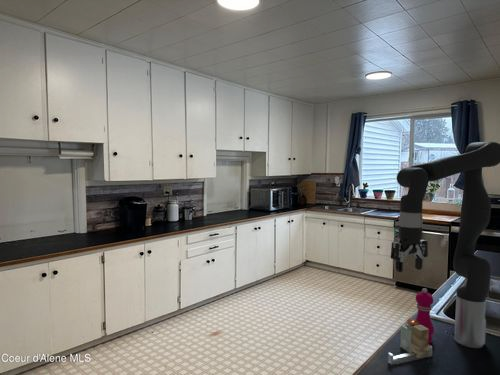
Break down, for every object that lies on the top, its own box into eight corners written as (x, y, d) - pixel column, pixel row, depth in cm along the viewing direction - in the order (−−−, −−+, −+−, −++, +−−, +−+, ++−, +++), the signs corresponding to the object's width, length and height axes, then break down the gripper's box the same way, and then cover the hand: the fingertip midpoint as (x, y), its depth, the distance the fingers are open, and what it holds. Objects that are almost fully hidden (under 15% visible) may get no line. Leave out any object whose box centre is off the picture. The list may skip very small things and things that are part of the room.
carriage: (421, 350, 121) (422, 324, 120) (429, 355, 117) (430, 328, 117) (409, 352, 119) (410, 326, 118) (418, 358, 116) (419, 331, 115)
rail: (428, 353, 120) (428, 344, 120) (431, 356, 119) (432, 346, 119) (387, 363, 115) (388, 353, 114) (391, 365, 113) (391, 355, 113)
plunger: (412, 333, 126) (413, 318, 126) (420, 338, 122) (421, 322, 122) (404, 335, 125) (404, 319, 124) (412, 340, 121) (413, 324, 121)
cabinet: (413, 343, 127) (413, 323, 127) (423, 350, 122) (424, 329, 122) (399, 346, 125) (400, 325, 125) (410, 353, 120) (411, 331, 120)
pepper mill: (409, 339, 130) (411, 288, 129) (416, 332, 136) (418, 283, 134) (429, 346, 125) (431, 293, 124) (436, 339, 130) (438, 288, 129)
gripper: (417, 222, 125) (416, 265, 126) (386, 224, 120) (385, 269, 121) (435, 225, 118) (433, 271, 119) (402, 227, 113) (400, 275, 114)
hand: (408, 270), depth 120 cm, fingers open, 8 cm apart
